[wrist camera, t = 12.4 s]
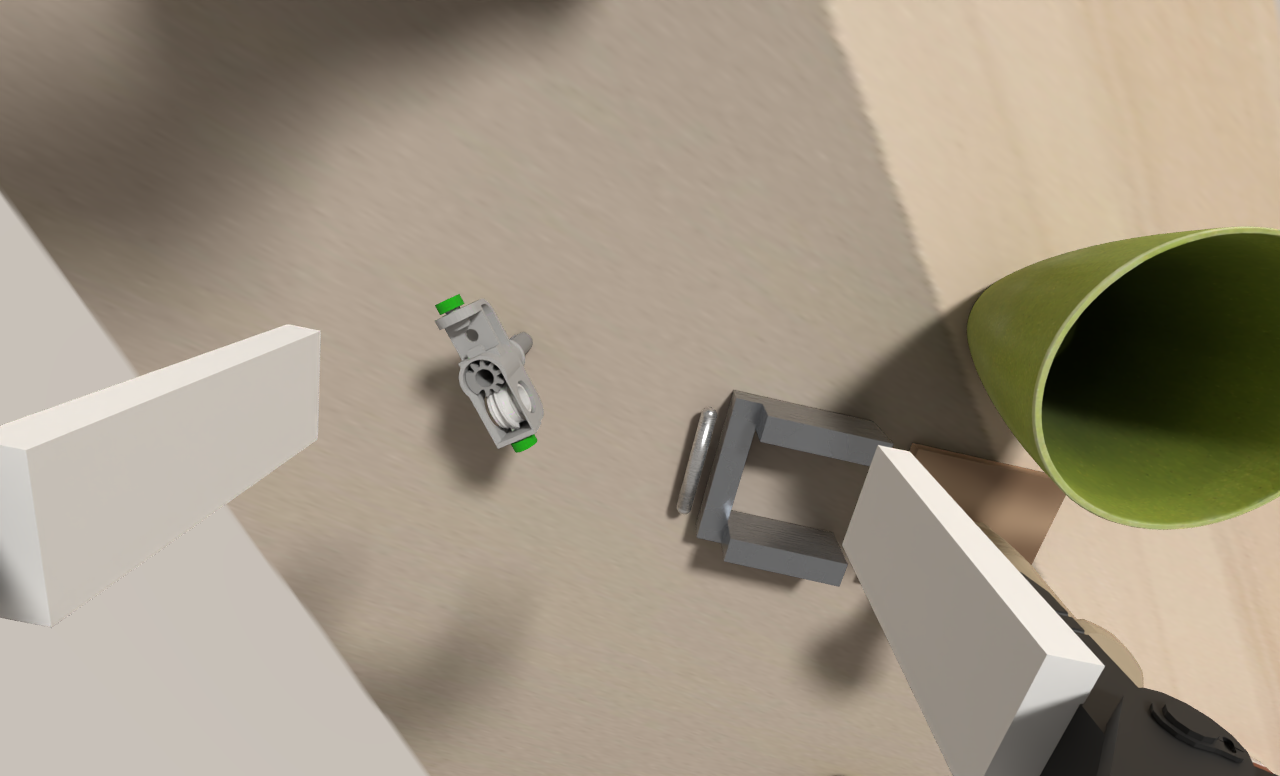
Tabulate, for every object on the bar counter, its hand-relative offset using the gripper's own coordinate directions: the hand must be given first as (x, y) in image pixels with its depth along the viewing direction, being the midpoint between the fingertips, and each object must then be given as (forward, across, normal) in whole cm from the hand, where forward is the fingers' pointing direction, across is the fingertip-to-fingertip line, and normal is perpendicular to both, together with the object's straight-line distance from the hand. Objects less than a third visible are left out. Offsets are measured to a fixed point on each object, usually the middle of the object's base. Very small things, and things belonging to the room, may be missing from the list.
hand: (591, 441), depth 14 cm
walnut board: (+31, +29, -15) cm, 45 cm away
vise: (+31, +13, -14) cm, 36 cm away
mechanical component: (+31, -8, -7) cm, 33 cm away
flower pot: (+31, +27, +2) cm, 41 cm away
